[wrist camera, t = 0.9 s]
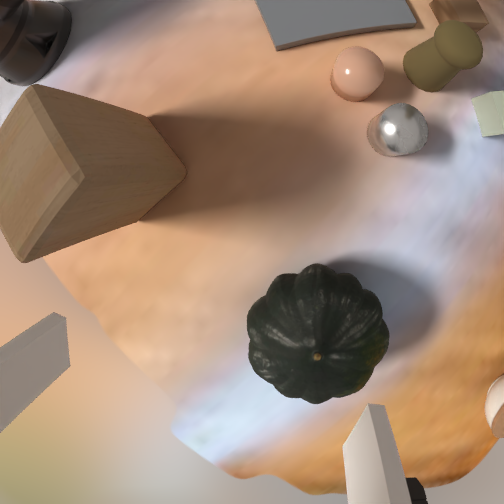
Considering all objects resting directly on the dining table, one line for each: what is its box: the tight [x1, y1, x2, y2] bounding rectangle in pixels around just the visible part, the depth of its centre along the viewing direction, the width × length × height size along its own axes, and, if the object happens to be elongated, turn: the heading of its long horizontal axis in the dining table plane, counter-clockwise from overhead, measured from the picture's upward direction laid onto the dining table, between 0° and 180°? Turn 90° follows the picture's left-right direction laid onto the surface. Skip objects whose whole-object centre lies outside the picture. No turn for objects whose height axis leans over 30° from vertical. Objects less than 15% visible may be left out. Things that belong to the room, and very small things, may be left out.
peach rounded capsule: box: [330, 46, 385, 102], centre depth 28 cm, size 5×5×5 cm
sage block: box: [471, 91, 504, 137], centre depth 26 cm, size 5×5×5 cm
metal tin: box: [367, 103, 428, 157], centre depth 28 cm, size 5×5×6 cm
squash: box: [247, 263, 389, 404], centre depth 31 cm, size 14×15×15 cm
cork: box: [403, 20, 483, 92], centre depth 23 cm, size 6×6×11 cm
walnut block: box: [429, 0, 489, 33], centre depth 23 cm, size 5×5×5 cm
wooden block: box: [0, 84, 187, 263], centre depth 26 cm, size 10×10×20 cm
